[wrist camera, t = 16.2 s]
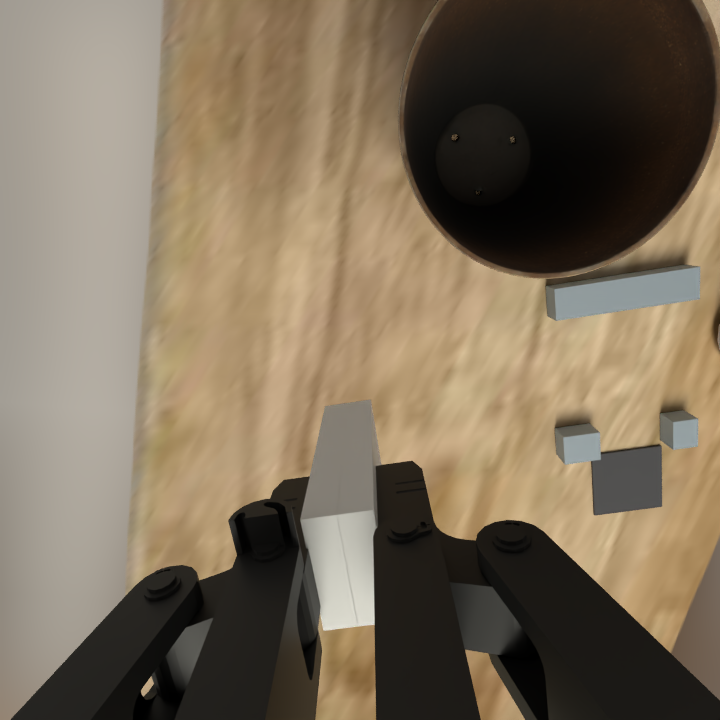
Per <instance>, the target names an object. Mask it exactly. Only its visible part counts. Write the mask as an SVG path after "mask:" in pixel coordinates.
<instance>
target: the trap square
mask: <svg viewBox="0 0 720 720" xmlns="http://www.w3.org/2000/svg"><path fill="white" fill-rule="evenodd" d="M591 464H592V486H593V508H594V515H602V514H609V513H617V512H625V511H632V510H640V509H648V508H655V507H662V447H661V445H658V446H651V447H643V448H636V449H629V450H621V451H614V452H607V453H601V460H595V461H591Z"/></svg>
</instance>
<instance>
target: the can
mask: <svg viewBox="0 0 720 720" xmlns="http://www.w3.org/2000/svg"><path fill="white" fill-rule="evenodd" d="M717 340H718V345H719V349H720V325H719V330H718V339H717Z"/></svg>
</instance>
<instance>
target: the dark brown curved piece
mask: <svg viewBox="0 0 720 720" xmlns="http://www.w3.org/2000/svg"><path fill="white" fill-rule="evenodd" d="M719 123H720V47H719V43H718V39H717V35H716V32H715V28H714V25H713V23H712V20H711V18H710V15H709V13H708V11H707V9H706V7H705V5H704V3H703V1H702V0H438V2H437V3H436V5H435V6H434V8H433V9H432V10H431V12H430V14H429V15H428V17H427V19H426V20H425V22H424V24H423V26H422V28H421V30H420V32H419V34H418V36H417V38H416V40H415V43H414V45H413V47H412V50H411V52H410V55H409V58H408V61H407V64H406V68H405V71H404V75H403V80H402V85H401V91H400V99H399V110H398V127H399V141H400V148H401V155H402V159H403V164H404V168H405V171H406V174H407V177H408V180H409V183H410V185H411V188H412V190H413V192H414V195H415V197H416V199H417V201H418V202H419V204H420V206H421V208H422V209H423V211H424V213H425V214H426V216H427V217H428V219H429V220H430V221H431V223H432V224H433V225H434V227H435V228H436V229H437V230H438V231H439V232H440V233H441V235H442V236H443V237H444V238H446V239H447V240H448V241H449V242H450V243H451V244H452V245H453V246H454V247H456V248H457V249H458V250H459V251H461V252H462V253H463V254H465V255H466V256H468V257H470V258H471V259H473V260H475V261H476V262H478V263H480V264H482V265H484V266H487V267H489V268H492V269H494V270H497V271H499V272H503V273H506V274H510V275H515V276H520V277H526V278H539V279H549V278H563V277H569V276H575V275H580V274H584V273H587V272H590V271H593V270H597V269H599V268H602V267H604V266H607V265H609V264H611V263H613V262H615V261H617V260H620V259H621V258H623V257H625V256H626V255H628V254H630V253H632V252H633V251H635V250H636V249H637V248H639V247H640V246H642V245H643V244H644V243H646V242H647V241H648V240H650V239H651V238H652V237H653V236H655V235H656V234H657V233H658V232H659V231H660V230H661V229H662V228H663V227H664V226H665V225H666V224H667V223H668V222H669V221H670V220H671V219H672V218H673V216H674V215H675V214H676V213H677V212H678V211H679V209H680V208H681V207H682V205H683V204H684V203H685V201H686V200H687V199H688V197H689V195H690V194H691V192H692V191H693V189H694V187H695V186H696V184H697V182H698V180H699V178H700V177H701V175H702V173H703V171H704V169H705V166H706V164H707V162H708V160H709V157H710V154H711V152H712V149H713V146H714V142H715V139H716V135H717V131H718V127H719ZM453 134H457V135H458V136H459V140H458V141H457V142H454V141H452V139H451V137H452V135H453ZM511 136H514V137H515V138H516V143H515V144H512V143H511V141H510V137H511ZM476 190H477V191H480V190H482V191H481V194H480V195H476Z"/></svg>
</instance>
